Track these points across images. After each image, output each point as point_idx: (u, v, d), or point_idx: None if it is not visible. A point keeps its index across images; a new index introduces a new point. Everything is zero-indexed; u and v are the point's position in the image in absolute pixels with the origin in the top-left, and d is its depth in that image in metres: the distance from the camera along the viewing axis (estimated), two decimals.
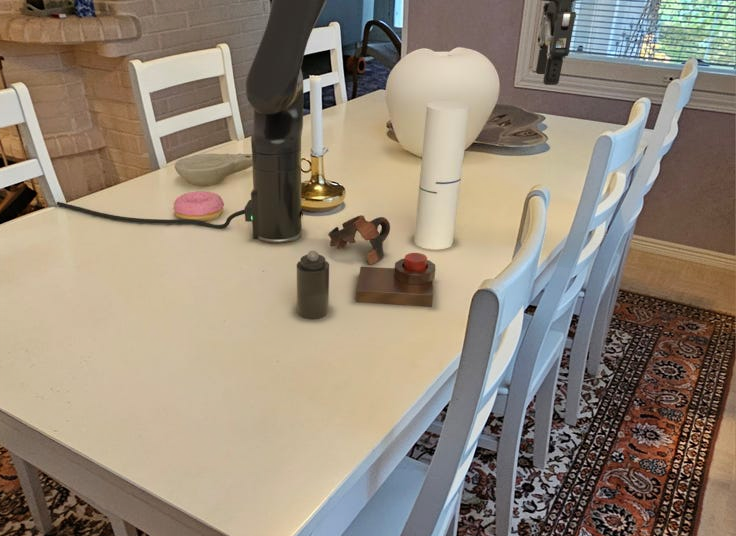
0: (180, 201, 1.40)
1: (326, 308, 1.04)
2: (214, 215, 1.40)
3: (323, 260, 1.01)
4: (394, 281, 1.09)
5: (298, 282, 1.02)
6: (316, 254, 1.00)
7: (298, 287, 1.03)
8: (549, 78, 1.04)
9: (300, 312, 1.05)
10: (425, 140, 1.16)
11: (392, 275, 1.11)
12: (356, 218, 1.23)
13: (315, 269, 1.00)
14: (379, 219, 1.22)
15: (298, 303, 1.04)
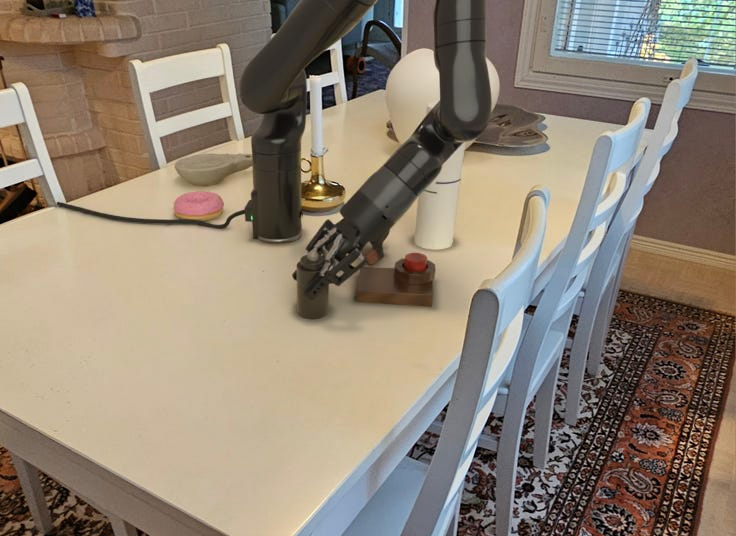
0: (180, 201, 1.40)
1: (326, 308, 1.04)
2: (214, 215, 1.40)
3: (323, 260, 1.01)
4: (394, 281, 1.09)
5: (298, 282, 1.02)
6: (316, 254, 1.00)
7: (298, 287, 1.03)
8: (310, 292, 1.00)
9: (300, 312, 1.05)
10: None
11: (392, 275, 1.11)
12: None
13: (315, 269, 1.00)
14: None
15: (298, 303, 1.04)
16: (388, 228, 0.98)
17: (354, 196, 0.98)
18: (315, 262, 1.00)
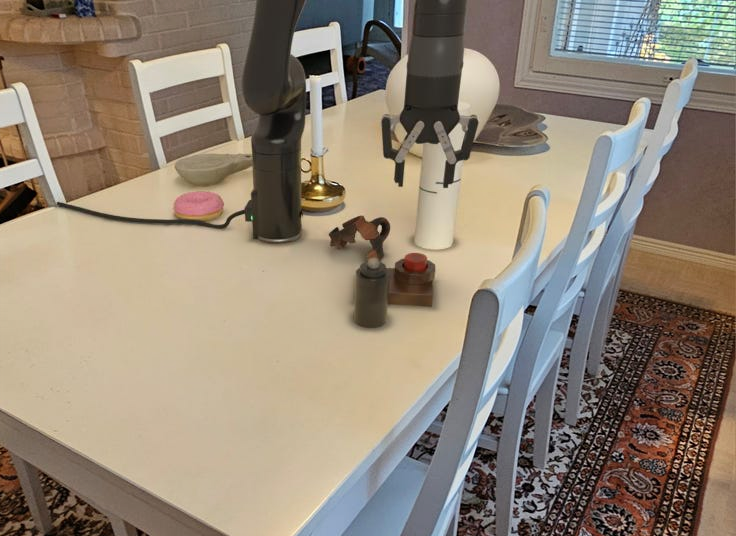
0: (180, 201, 1.40)
1: (385, 317, 1.01)
2: (214, 215, 1.40)
3: (384, 267, 0.98)
4: (394, 281, 1.09)
5: (357, 290, 0.99)
6: (377, 261, 0.97)
7: (357, 295, 1.00)
8: None
9: (357, 321, 1.02)
10: None
11: (392, 275, 1.11)
12: (356, 218, 1.23)
13: (376, 277, 0.97)
14: (379, 219, 1.22)
15: (356, 311, 1.01)
16: (411, 83, 0.93)
17: None
18: (376, 270, 0.97)
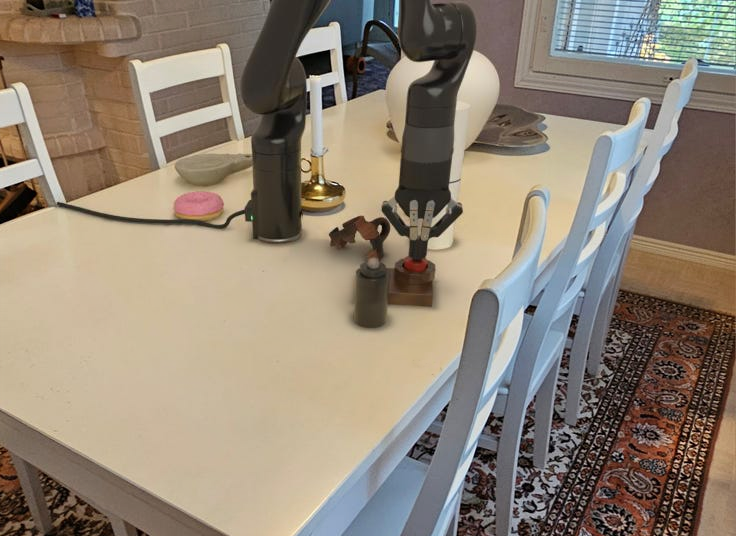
0: (180, 201, 1.40)
1: (385, 317, 1.01)
2: (214, 215, 1.40)
3: (384, 267, 0.98)
4: (394, 281, 1.09)
5: (357, 290, 0.99)
6: (377, 261, 0.97)
7: (357, 295, 1.00)
8: None
9: (357, 321, 1.02)
10: None
11: (392, 275, 1.11)
12: (356, 218, 1.23)
13: (376, 277, 0.97)
14: (379, 219, 1.22)
15: (356, 311, 1.01)
16: (405, 167, 0.99)
17: None
18: (376, 270, 0.97)
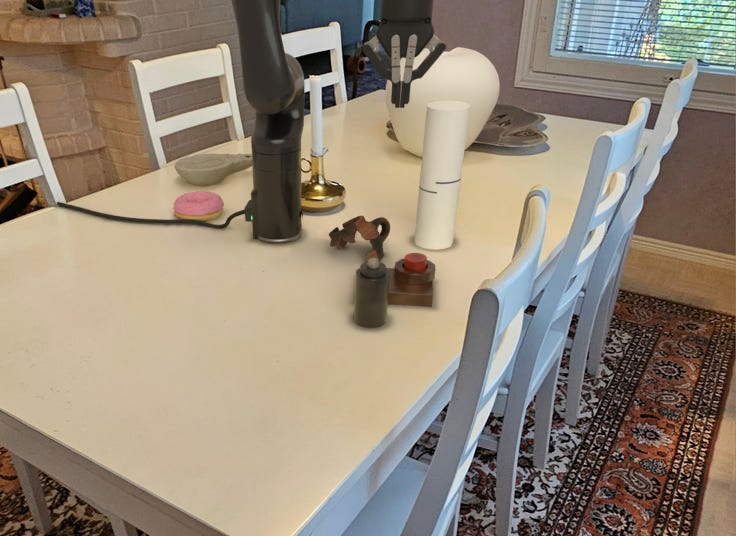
0: (180, 201, 1.40)
1: (385, 317, 1.01)
2: (214, 215, 1.40)
3: (384, 267, 0.98)
4: (394, 281, 1.09)
5: (357, 290, 0.99)
6: (377, 261, 0.97)
7: (357, 295, 1.00)
8: None
9: (357, 321, 1.02)
10: (425, 140, 1.16)
11: (392, 275, 1.11)
12: (356, 218, 1.23)
13: (376, 277, 0.97)
14: (379, 219, 1.22)
15: (356, 311, 1.01)
16: None
17: None
18: (376, 270, 0.97)
